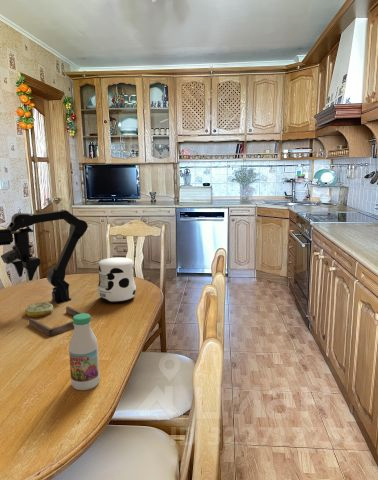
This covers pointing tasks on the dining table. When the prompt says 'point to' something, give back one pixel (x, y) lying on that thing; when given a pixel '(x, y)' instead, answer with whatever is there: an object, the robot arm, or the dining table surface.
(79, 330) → the milk bottle
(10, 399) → the dining table surface
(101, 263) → the milk container
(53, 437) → the dining table surface
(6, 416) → the dining table surface
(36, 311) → the decorated donut
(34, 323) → the u-shaped brown rail
